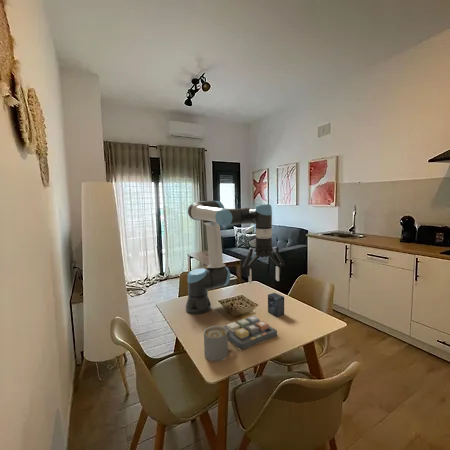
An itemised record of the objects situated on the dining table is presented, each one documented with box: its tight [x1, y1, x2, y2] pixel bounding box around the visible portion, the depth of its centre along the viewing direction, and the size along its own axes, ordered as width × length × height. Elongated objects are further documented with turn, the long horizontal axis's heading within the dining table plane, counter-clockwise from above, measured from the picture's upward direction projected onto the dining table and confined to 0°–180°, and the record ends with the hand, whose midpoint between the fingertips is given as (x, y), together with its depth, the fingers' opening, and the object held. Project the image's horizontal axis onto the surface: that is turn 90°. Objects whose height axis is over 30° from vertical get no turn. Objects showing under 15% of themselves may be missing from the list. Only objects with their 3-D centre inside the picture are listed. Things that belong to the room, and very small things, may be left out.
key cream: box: [226, 321, 240, 332], centre depth 124 cm, size 4×4×2 cm
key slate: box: [246, 315, 260, 325], centre depth 131 cm, size 4×4×2 cm
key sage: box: [236, 318, 250, 328], centre depth 127 cm, size 4×4×2 cm
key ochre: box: [235, 328, 249, 339], centre depth 118 cm, size 4×4×2 cm
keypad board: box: [223, 318, 278, 351], centre depth 125 cm, size 18×21×3 cm
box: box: [267, 292, 285, 318], centre depth 146 cm, size 8×6×11 cm
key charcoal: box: [246, 324, 259, 335], centre depth 122 cm, size 4×4×2 cm
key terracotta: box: [256, 320, 270, 331], centre depth 125 cm, size 4×4×2 cm
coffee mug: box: [203, 325, 230, 362], centre depth 110 cm, size 13×10×10 cm
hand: (263, 281), depth 123 cm, fingers open, 13 cm apart
